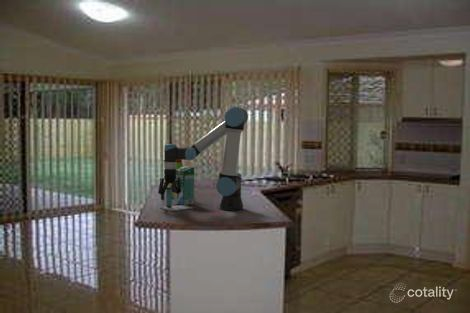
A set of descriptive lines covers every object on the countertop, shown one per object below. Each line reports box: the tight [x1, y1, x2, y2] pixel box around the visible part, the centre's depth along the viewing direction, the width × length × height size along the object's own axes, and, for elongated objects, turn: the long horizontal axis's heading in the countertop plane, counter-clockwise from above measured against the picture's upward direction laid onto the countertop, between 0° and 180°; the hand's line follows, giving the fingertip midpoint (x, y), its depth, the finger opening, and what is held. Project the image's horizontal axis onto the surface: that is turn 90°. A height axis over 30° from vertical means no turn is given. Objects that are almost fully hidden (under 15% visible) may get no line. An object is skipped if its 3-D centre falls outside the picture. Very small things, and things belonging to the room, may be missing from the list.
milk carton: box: [175, 165, 195, 206], centre depth 339 cm, size 9×9×25 cm
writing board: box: [159, 204, 195, 212], centre depth 321 cm, size 18×13×1 cm
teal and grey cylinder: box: [165, 186, 173, 208], centre depth 320 cm, size 4×4×13 cm
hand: (169, 204), depth 320 cm, fingers open, 8 cm apart
